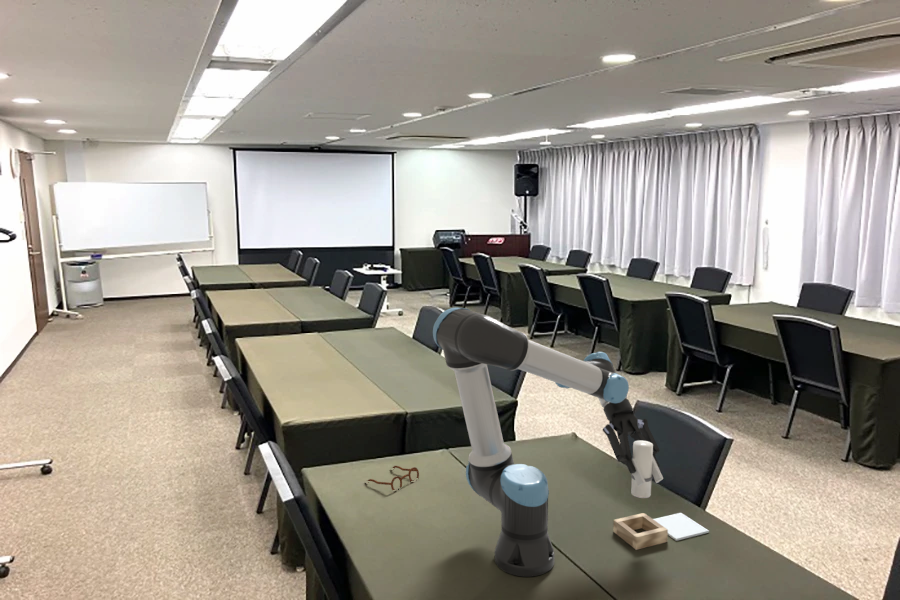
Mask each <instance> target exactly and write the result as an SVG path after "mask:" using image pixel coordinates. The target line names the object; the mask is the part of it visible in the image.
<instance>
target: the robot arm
mask: <svg viewBox="0 0 900 600" xmlns="http://www.w3.org/2000/svg"><path fill="white" fill-rule="evenodd" d="M432 336H433V341H434V343H435V344H436V345H437V347H438V348H439V349H441V350H443V351H442V352H443V355H444V360H445V363H446V367H447V368H449V369H450V370H452V371H453V372H454V376H455V379H456V384H457V385H456V386H457V389H458V393H459V399H460V402H461V405H462V406H461V407H462V411H463V415H464V420H465V424H466V429H467V432H468V433H467V434H468V437H469V442H470V446H471V452H469V455H468V463H467V465H466V466H465V477H466V481H467V483H468V485H469V486H470V487H471V489H472V490H473V491H474V492H475V493H476V495H478V496H479V497H481V498H483V499H484V500H486V501H487V502H489V504H491V505H492V506H494V507H495V508H496V509H497V510H498V511H500V513H501V518H500V519H501V521H500V523H501V524H500V525H501V531H500V534H499V537H498V540H497V543H496V545H495V548H494V562H495V564H496V566H497V567H498V568H499V569H500V570H502V571H503V572H505V573H507V574H509V575H512V576H517V577H526V578H528V577H529V578H530V577H538V576H540V575H544V574H546V573H548V572H549V571H550V570H552V569H553V568H554V565H555V551H554V550H555V549H554V547H553V544H552V541H551V538H550V535H549V532H548V531H549V530H548V527H549V525H548V524H549V494H550V493H549V492H550V490H549V485H548V478H547V476H546V475H545V473H544V472H543V471H542V470H541V469H539V468H537V467H535V466H532V465H527V464H526V463H525V464H523V463H515V461H514V457H513V452H512V449H511V447H510V446H509V445H508V444H507V443H504V439H503V434H502V429H501V423H500V420H499V415H498V411H497V410H498V409H497V405H496V401H495V397H494V392H493V386H492V382H491V378H490V373H489V369H488V366H494V367H497V368H502V369H504V370H507V371H516V370H520V371H523V372H526V373H528V374H531V375H534V376H537V377H540V378H542V379H546V380H548V381H551V382H553V383H555V385H556V386H557V387H559V388H563V389H568V390H569V389H573V390H576V391H579V392H582V393H584V394H587V395H590V396H592V397H594V398H597V399H598V401H599V403H600V405H601V407H602V408H603V409H602V410H603V412H604V415H605V418H606V419H607V420H608V422H609V423H607V424H606V425H605V426H603V428H602V432H603V433H604V434H605V435H606V437H607V439H608V441H609V444H610V446H611V449H612V451H613V454H614V456H615V458H616V461H617V462H622V464H623V465H626V467H627V470H628V473H630V475H631V474H632V473H633V476H634V478H635V480H636V483H637V485H638V486H641V485H642V484H644V483H645V480H644V477H643V475H642V473H641V471H640V468H639V466H638V464H637V462H636V459H633V455H632V453H631V447H630V442H629V437H628V435H629V436H630V438H632V439H633V440H634V441H638V440H643V441H648V442H651V443H652V444H653V457H652V478H653V480H654V481H655V483H656V484H657V483H660V482H661V481H662V480H663V479H664V477H663V474H662V473H661V470H660V464H659V461H658V458H657V457H656V455H657V454H658V453H659V452H660V448H659V446H658V444H657V441H656V440H655V438H654V435H653V434H652V431H651V429H650V428H649V423H648V420H647V419H646V418H643V419H638V418H637V416H636V415H635V414H634V409H633V406H632V405H631V401H630V400H629V399H628V392H629V389H630V385H629V382H628V380H627V379H626V378H625V377H624V376H622V375H621V374H619V373H617V372H616V370H615V367H614V365H613V362H612V361H611V359H610V358H609V356H608V354H607V353H606V352H603V351H596V352H593V353H590V354H588V355H587V356H585V357H584V359H583V360H582V359H579V358H575V357H574V356H571V355H569V354H566V353H564V352H561V351H558V350H556V349H553V348H551V347H548V346H545V345H542V344H541V343H538V342H535V341H533V340H531V339H529V338H528V336H527V334H525V333H524V332H523V331H519V330H517V329H514V328H512V327H511V326H509V325H506V324H505V323H504V322H501V321H500V320H498V319H496V318H494V317H493V316H490V315H488V314H483V313H480V312H476V311H473V310H470V309H469V308H464V307H451V308H448V309H446V310H444V311H443V312H441V314H440V315H439V316H438V317H437V318H436V321H435V322H434V324H433V329H432Z"/></svg>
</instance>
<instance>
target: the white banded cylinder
mask: <svg viewBox="0 0 900 600" xmlns="http://www.w3.org/2000/svg"><path fill="white" fill-rule="evenodd" d="M632 444H633V445H632V459H636V462H637V464H638V466H639V468H640V471H641V473H642V475H643V477H644V480H645V483H644V484H642V485H641V486H638V485H637V483H636V480H635V478H634V476H633V473H632V474H631V473H630V477H631V487H630V488H631V491H630V492H631V495H632V496H634V497H636V498H640V499H648V498H650V497H651V495H652V480H653V475H652V457H653V444H652V443H651V442H648V441H643V440H638V441H635V440H634V441H633V443H632Z"/></svg>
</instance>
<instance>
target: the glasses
mask: <svg viewBox="0 0 900 600" xmlns="http://www.w3.org/2000/svg"><path fill="white" fill-rule="evenodd" d="M392 468H394V469H395V468H396V469H399V470H401V471H404V472H408V473H407V474H405V475H402V476H401V477H400V476H394V477H393V478H392V479H391V481H390V482H385V481H377V480H376V479H373V478H369V479H368V480H367V481H370V482H372V483H375V484H377V485H386V486H387V485H388V486H390V487H391V490H392V491H393V490H396V489H395V487H394V481H395V480H396V479H398V481H399V487H402V486H403V479H405V478H407V477H408V479H409V482H411V481H414V480H412V476H411V473H412V472H416V478H418V479H419V477H420V472H419V469H418V468H417V467H416V466H414V467H411V468H404V467H401V466H400V465H399V466H398V465H394V466H392Z"/></svg>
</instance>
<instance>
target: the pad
mask: <svg viewBox="0 0 900 600" xmlns="http://www.w3.org/2000/svg"><path fill="white" fill-rule="evenodd" d="M652 519H653V520H655V521H656V522H658V523H659V524H660V525H662V526H663V527H665V528H666V529H668V537H670V538H671V539H673V540H674V541H677V542H678V541H681V540H684V539H690V538H694V537H696V536H697V537H698V536H701V535H704V534H708V533H709V532H710V530H708V529H707V528H705V527H704V526H702V525H701V524H699V523H698V522H696V521H694V520H693V519H692V518H690V517H688V516H687V515H686V514H684V513H682V512H677V513H673V514H670V515H664V516H661V517H657V518H652Z"/></svg>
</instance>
